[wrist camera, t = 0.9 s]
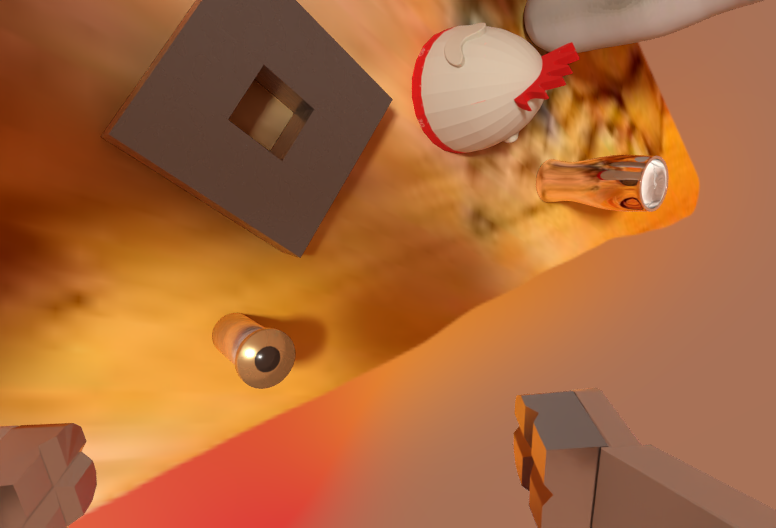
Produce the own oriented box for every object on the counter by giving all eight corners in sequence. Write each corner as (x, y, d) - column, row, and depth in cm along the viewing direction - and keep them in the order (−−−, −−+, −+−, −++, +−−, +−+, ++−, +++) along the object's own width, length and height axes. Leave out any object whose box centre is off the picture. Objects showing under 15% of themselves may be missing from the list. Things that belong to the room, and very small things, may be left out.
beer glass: (531, 205, 71) (636, 213, 59) (535, 154, 70) (643, 151, 58) (561, 205, 75) (665, 213, 63) (566, 157, 74) (672, 156, 62)
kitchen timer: (512, 93, 65) (624, 77, 54) (459, 176, 62) (566, 179, 50) (454, 2, 58) (569, -41, 46) (390, 92, 54) (497, 71, 43)
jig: (100, 136, 39) (108, 134, 36) (223, -40, 43) (241, -56, 39) (282, 251, 50) (300, 257, 47) (369, 103, 53) (392, 99, 50)
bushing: (196, 346, 46) (226, 376, 40) (225, 298, 47) (258, 319, 41) (241, 366, 49) (276, 397, 43) (268, 321, 50) (305, 344, 44)
